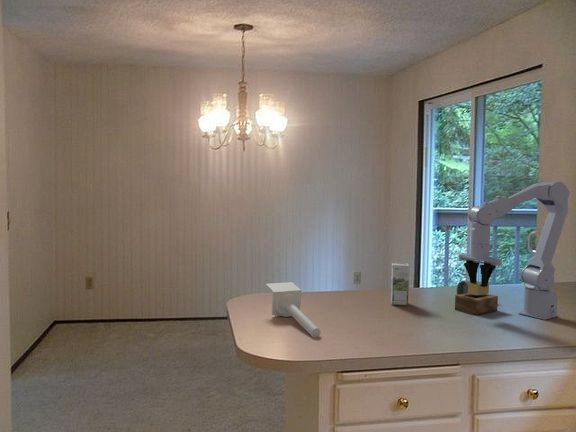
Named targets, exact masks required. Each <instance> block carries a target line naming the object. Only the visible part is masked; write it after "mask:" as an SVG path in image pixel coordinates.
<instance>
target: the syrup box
mask: <svg viewBox="0 0 576 432" xmlns="http://www.w3.org/2000/svg"><path fill="white" fill-rule="evenodd" d="M390 277H391V278H390V303H391V306H402V307H403V306H405V307H406V306H409V288H410V287H409V285H410V265H409V263H408V262H391V276H390Z"/></svg>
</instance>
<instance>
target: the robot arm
mask: <svg viewBox="0 0 576 432" xmlns="http://www.w3.org/2000/svg"><path fill="white" fill-rule="evenodd" d="M570 193H571V192H570V190H569V188H568V187H567V185H566V184H565V183H564V182H562V181H542V180H541V181H538V182H537V183H533V184H531V185H529V186H527V187H524V188H523V189H522V190H520V191H518V192H516V193H514V194H512V195H510V196H505V195H497V196H495V198H494V199H492V200H490V201H485V202H483V203H482V205H476V206H473V207H472V208H471V209H470V210H469V213H468V215H467V217H468V220H469V221H470V222H471V224H470V228H471V229H470V230H471V233H470V235H471V236H470V254H464V253H462V254H459V255H458V261H461V262H462V261H463V262H464V263H463V267H464V268H465V270H466V272H467V275H468V279H469V281H470V283H472V282H477V281H478V271H479V270H480V276H481V281H480V282H481V284H482V287H486V286H487V285H488V283H489V281H490V278H491V276H492V273H493V272H494V270H495V269H496V267H502V264H503V259H499V258H495V257H491V256H490V251H491V250H490V249H491V246H490V245H491V244H490V243H491V242H490V241H491V224H493V223H494V221H495V220H496V219H498V218H499V217H502V216H504V215H505V216H506V215H507V214H509V213H511V212H512V211H513V207H516V206H518V205H520V204H523V203H525V202H528V201H532V200H533V199H536V200H537V201H539V203H540V204H542V206H544V208H546V211H547V216H546V218H545V221H544V224H543V228H542V231H541V234H540V237H539V240H538V244H537V246H536V249H535V252H534V254H533V255H534V256H533V257H532V258H530V259H529V260H528V261H526V262H527V263H526V264H525V266H524V268H523V269H522V270H521V273H520V280H521V282H523V287H524V295H523V296H524V297H523V299H524V300H523V310H522V311H517V314H519V315H522V316H527V317H531V318H535V319H540V320H548V319H553V318H557V317H558V314H557V311H558V309H557V307H558V295H557V293H556V292H555V291H553V290H550V289H551V288H552V286H553V285H554V283H555V271H556V268H555V267H554V264H553V263H552V261H553V259H554V256H555V252H556V249H557V247H558V244H559V240H560V237H561V234H562V232H563V231H562V230H563V228H564V225H565V221H566V219H567V215H568V212H569V202H568V199H569V197H570ZM478 269H479V270H478Z"/></svg>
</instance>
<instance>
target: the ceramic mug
mask: <svg viewBox="0 0 576 432" xmlns="http://www.w3.org/2000/svg"><path fill="white" fill-rule="evenodd" d="M479 281H480V280H477V282H479ZM468 283H470V280H460V281H459V282H458V283H457V285H456V293H455V295H459V294H465V293H468Z"/></svg>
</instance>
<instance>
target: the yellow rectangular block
mask: <svg viewBox="0 0 576 432" xmlns="http://www.w3.org/2000/svg"><path fill="white" fill-rule="evenodd" d="M478 281H479V282H472V283H468V294H473V295H483V294H489V293H490V292H489V289H490V288H489V287H490V283H489V282H488V285H487V286H486V287H482V284H481V281H480V280H478Z"/></svg>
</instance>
